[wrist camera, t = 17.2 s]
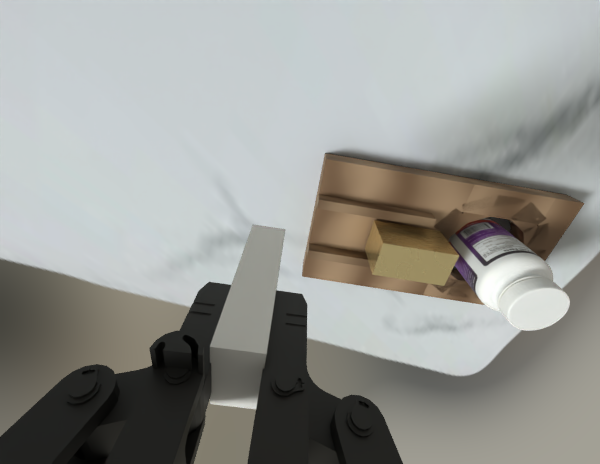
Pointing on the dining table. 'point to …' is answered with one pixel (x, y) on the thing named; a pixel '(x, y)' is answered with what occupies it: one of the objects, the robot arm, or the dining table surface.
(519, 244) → the pill bottle
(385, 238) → the bar
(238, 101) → the dining table surface
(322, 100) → the dining table surface
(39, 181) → the dining table surface
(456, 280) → the dock plate
